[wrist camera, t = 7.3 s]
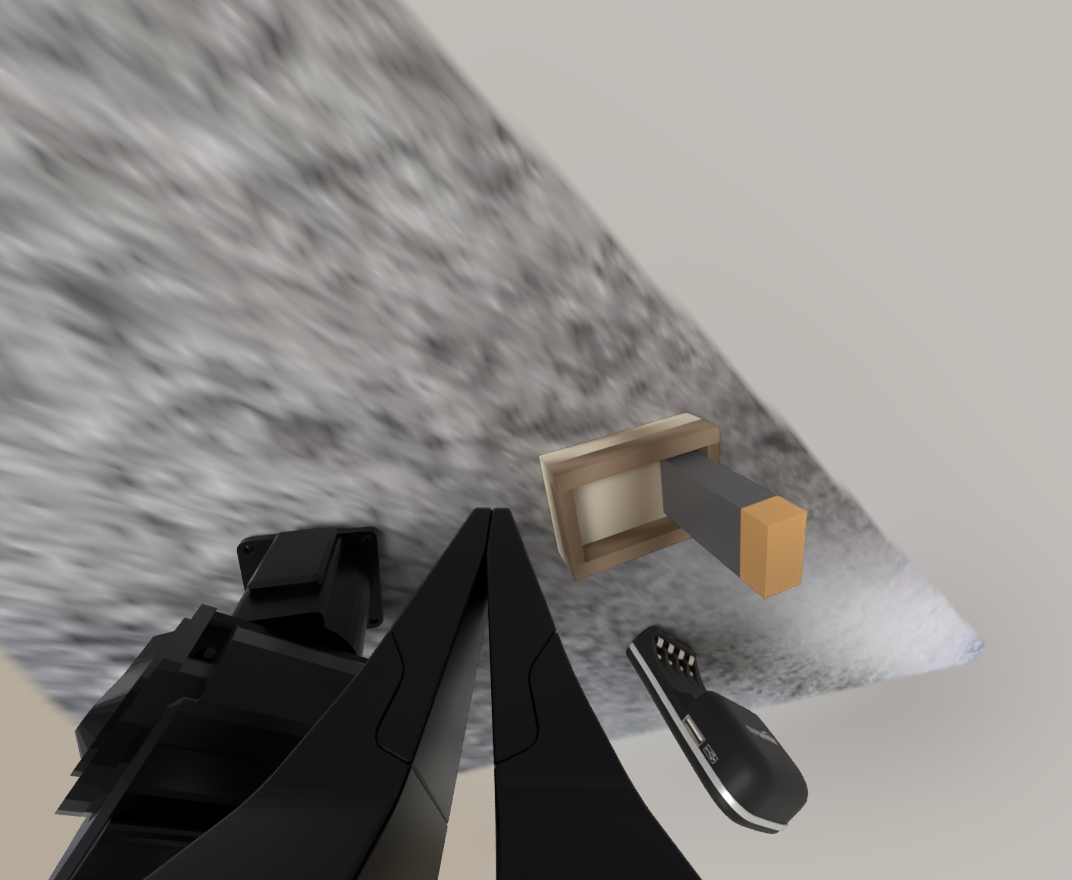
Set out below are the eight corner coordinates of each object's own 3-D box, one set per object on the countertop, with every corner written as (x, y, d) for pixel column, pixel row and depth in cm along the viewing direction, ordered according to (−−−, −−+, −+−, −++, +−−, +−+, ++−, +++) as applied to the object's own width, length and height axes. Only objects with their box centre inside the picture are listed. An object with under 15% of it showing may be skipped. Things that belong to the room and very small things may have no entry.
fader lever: (663, 512, 25) (764, 598, 18) (659, 456, 24) (767, 525, 16) (691, 503, 25) (800, 583, 18) (688, 447, 24) (807, 511, 17)
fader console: (558, 551, 26) (575, 580, 23) (539, 456, 23) (555, 476, 20) (690, 505, 28) (720, 527, 25) (686, 412, 25) (719, 425, 22)
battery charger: (701, 643, 33) (831, 798, 23) (671, 675, 33) (786, 843, 23) (651, 612, 30) (775, 774, 20) (619, 648, 31) (724, 826, 20)
